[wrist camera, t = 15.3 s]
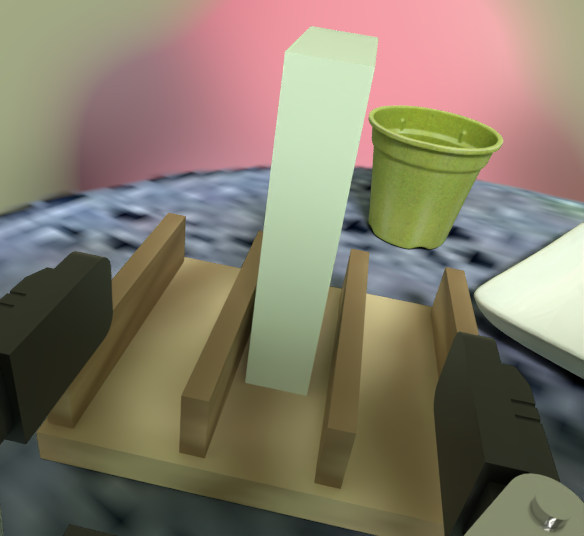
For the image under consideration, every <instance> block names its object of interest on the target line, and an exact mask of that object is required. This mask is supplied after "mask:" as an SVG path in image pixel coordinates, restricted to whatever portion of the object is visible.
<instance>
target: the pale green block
mask: <svg viewBox="0 0 584 536" xmlns="http://www.w3.org/2000/svg"><path fill="white" fill-rule="evenodd" d="M377 43H378V38H377V37H371V36H366V35H359V34H354V33H348V32H342V31H336V30H330V29H324V28H318V27H312V26H311V27H310V28H309V29H308V30H307V31H306V32H305V33H304V34H303V35H302V36H301V37H300V38H299V39H297V40H296V41H295V42H294V43H293V44H292V45H291V46H290V47H289V48H288V49H287V51H285V59H284V66H283V75H282V83H281V91H280V100H279V108H278V116H277V124H276V133H275V141H274V149H273V157H272V165H271V173H270V182H269V190H268V198H267V206H266V215H265V223H264V231H263V239H262V247H261V256H260V264H259V272H258V280H257V289H256V297H255V305H254V313H253V322H252V330H251V338H250V346H249V355H248V363H247V371H246V379H245V383H248V384H253V385H258V386H263V387H267V388H272V389H277V390H281V391H286V392H291V393H296V394H300V395H305V396H307V393H308V388H309V383H310V378H311V373H312V368H313V364H314V359H315V354H316V349H317V344H318V339H319V335H320V330H321V325H322V320H323V315H324V310H325V306H326V301H327V296H328V291H329V286H330V282H331V277H332V272H333V267H334V262H335V257H336V253H337V248H338V243H339V238H340V233H341V228H342V224H343V219H344V214H345V209H346V204H347V199H348V195H349V190H350V185H351V180H352V175H353V171H354V166H355V161H356V156H357V151H358V146H359V142H360V137H361V132H362V127H363V122H364V117H365V113H366V108H367V103H368V98H369V93H370V88H371V84H372V79H373V73H374V69H375V62H376V53H377Z"/></svg>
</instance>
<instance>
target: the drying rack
mask: <svg viewBox="0 0 584 536" xmlns="http://www.w3.org/2000/svg"><path fill="white" fill-rule="evenodd" d="M185 222H186V216H182V215H177V214H172V213H168V214H167V215H166V216H165V218H164V219H163V220H162V221H161V222H160V223H159V225H158V226H157V227H156V228H155V229H154V231H153V232H152V233H151V234H150V235H149V236H148V238H147V239H146V240H145V241H144V242H143V244H142V245H141V246H140V247H139V248H138V249H137V251H136V252H135V253H134V254H133V255H132V257H131V258H130V259H129V260H128V261H127V262H126V264H125V265H124V266H123V267H122V268H121V270H120V271H119V272H118V273H117V274H116V275H115V277H114V278H113V279H112V301H113V318H112V323H111V327H110V329H109V332H108V334H107V336H106V338H105V339H104V340H103V342H102V343H101V344H100V346H99V347H98V348H97V350H96V351H95V352H94V354H93V355H92V356H91V358H90V359H89V360H88V362H87V363H86V365H85V366H84V367H83V369H82V370H81V371H80V373H79V374H78V375H77V377H76V378H75V379H74V381H73V382H72V383H71V385H70V386H69V387H68V389H67V390H66V391H65V393H64V394H63V395H62V397H61V398H60V399H59V401H58V402H57V403H56V405H55V406H54V407H53V409H52V410H51V411H50V413H49V414H48V415H47V418H46V419H45V421H44V422H43V424H42V425H41V426H40V428H39V429H38V430H37V432H36V434H37V440H38V445H39V451H40V457H41V458H42V459H46V460H51V461H55V462H59V463H64V464H68V465H72V466H77V467H81V468H85V469H90V470H94V471H98V472H103V473H107V474H112V475H116V476H120V477H125V478H129V479H133V480H138V481H142V482H146V483H151V484H155V485H159V486H164V487H168V488H172V489H177V490H181V491H185V492H190V493H194V494H199V495H203V496H207V497H212V498H216V499H220V500H225V501H229V502H233V503H238V504H242V505H246V506H251V507H255V508H259V509H264V510H268V511H272V512H277V513H281V514H286V515H290V516H294V517H299V518H303V519H307V520H312V521H316V522H320V523H325V524H329V525H333V526H338V527H342V528H346V529H351V530H355V531H359V532H364V533H368V534H373V535H377V536H445V535H444V524H443V512H442V501H441V490H440V478H439V467H438V455H437V444H436V432H435V421H434V396H435V390H436V386H437V383H438V380H439V377H440V374H441V372H442V369H443V366H444V364H445V361H446V359H447V356H448V353H449V351H450V348H451V345H452V343H453V340H454V338H455V336H456V334H457V333H458V332H459V331H460V332H465V333H470V334H474V335H479V333H478V329H477V325H476V320H475V316H474V312H473V307H472V303H471V299H470V294H469V290H468V286H467V281H466V277H465V273H464V271H462V270H457V269H452V268H447V267H446V268H445V271H444V274H443V277H442V280H441V283H440V286H439V289H438V292H437V295H436V297H435V300H434V303H433V306H432V307H430V306H425V305H420V304H415V303H410V302H405V301H400V300H395V299H390V298H385V297H380V296H375V295H370V294H366V291H367V277H368V262H369V252H365V251H360V250H355V249H351V252H350V256H349V261H348V265H347V270H346V274H345V279H344V283H343V288H342V289H340V288H335V287H331V286H329V291H328V296H327V301H326V306H325V310H324V315H323V320H322V325H321V330H320V335H319V339H318V344H317V349H316V354H315V359H314V364H313V368H312V373H311V378H310V383H309V388H308V393H307V396H305V395H300V394H296V393H291V392H286V391H281V390H277V389H272V388H267V387H263V386H258V385H253V384H248V383H245V379H246V371H247V363H248V355H249V346H250V338H251V330H252V322H253V313H254V305H255V297H256V289H257V280H258V272H259V264H260V256H261V247H262V239H263V231H258V233H257V236H256V238H255V240H254V242H253V244H252V246H251V248H250V250H249V253H248V255H247V257H246V259H245V261H244V263H243V265H242V267H241V268H236V267H231V266H226V265H221V264H216V263H211V262H206V261H201V260H196V259H191V258H186V257H184V251H185Z"/></svg>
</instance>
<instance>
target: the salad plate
mask: <svg viewBox="0 0 584 536" xmlns="http://www.w3.org/2000/svg"><path fill="white" fill-rule="evenodd" d="M474 298H475V301H476V304H477V306H478V307H479V309H480V311H481V312H482V314H483V315H484V316H485V317H486V318H487V319H488V320H489V321H490V322H491V323H492V324H493V325H494V326H495V327H497V328H498V329H499V330H501V331H502V332H503V333H505V334H506V335H508V336H509V337H511V338H512V339H514V340H516V341H517V342H519V343H520V344H522V345H524V346H525V347H527V348H529V349H530V350H532V351H534V352H536V353H537V354H539V355H541V356H543V357H545V358H546V359H548V360H550V361H552V362H554V363H555V364H557V365H559V366H561V367H563V368H564V369H566V370H568V371H570V372H572V373H573V374H575V375H577V376H579V377H581V378H583V379H584V222H583V223H581V224H580V225H578V226H577V227H575V228H573V229H572V230H570V231H569V232H567V233H566V234H564V235H563V236H561V237H560V238H558V239H557V240H555V241H554V242H552V243H551V244H549V245H548V246H546V247H545V248H543V249H541V250H540V251H538V252H537V253H535V254H533V255H532V256H530V257H528V258H527V259H525V260H524V261H522V262H520V263H518V264H516V265H515V266H513V267H511V268H510V269H508V270H506V271H504V272H503V273H501V274H499V275H498V276H496V277H494V278H493V279H491V280H489V281H488V282H486V283H484V284H483V285H481V286H480V287H479V288H478V289H477V290H476V291H475V293H474Z"/></svg>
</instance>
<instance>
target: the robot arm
mask: <svg viewBox="0 0 584 536" xmlns="http://www.w3.org/2000/svg"><path fill="white" fill-rule="evenodd" d="M112 318H113V301H112V280H111V265H110V261H109V260H108V258H105V257H101V256H96V255H91V254H86V253H81V252H76V251H75V252H72V253H71V254H69V255H68V256H67V257H66V258H65V259H64V260H63V261H62V262H61V263H60V264H59V265H58V266H57V267H55V268H54V269H52V268H45V269H43V270H41V271H38V272H36V273H34V274H32V275H30V276H27V277H25V278H24V279H23V280H22V281H21V282H20V283H19V284H17V285H16V286H15V287H14V288H13V289H12V290H11V291H10V294H6V295H5V296H4V297H3V298H2V299H0V444H1V443H2V442H3V441H4V439H6V440H10V441H15V442H19V443H23V444H27V442H28V441H29V440H30V438H31V437H32V436H33V434H34V433H35V431H36V430H37V429H38V427H39V426H40V425H41V423H42V422H43V421H44V419H45V418H46V417H47V415H48V414H49V413H50V411H51V410H52V409H53V407H54V406H55V405H56V403H57V402H58V401H59V399H60V398H61V397H62V395H63V394H64V393H65V391H66V390H67V389H68V387H69V386H70V385H71V383H72V382H73V381H74V379H75V378H76V377H77V375H78V374H79V373H80V371H81V370H82V369H83V367H84V366H85V365H86V363H87V362H88V360H89V359H90V358H91V356H92V355H93V354H94V352H95V351H96V350H97V348H98V347H99V346H100V344H101V343H102V342H103V340H104V339H105V338H106V336H107V334H108V332H109V329H110V327H111V323H112ZM535 405H536V404H535V400H534V397H533V394H532V391H531V388H530V385H529V384H528V382H527V381H526V380H525V379H524V377H523V376H522V375H521V374H520V372H519V371H518V370H517V369H516V367H515V366H511V365H506V364H502V363H501V361H500V357H499V353H498V349H497V345H496V342H495V340H494V339H493V338H489V337H484V336H479V335H474V334H470V333H465V332H460V331H459V332H458V333H457V334H456V336H455V338H454V340H453V343H452V345H451V348H450V351H449V353H448V356H447V359H446V361H445V364H444V366H443V369H442V372H441V374H440V377H439V380H438V383H437V386H436V390H435V396H434V421H435V432H436V444H437V455H438V467H439V478H440V490H441V501H442V512H443V524H444V535H445V536H584V503H583V502H582V501H581V499H580V498H579V497H578V496H577V495H576V494H575V493H574V492H572V491H571V490H570V489H569V488H567V487H566V486H564V485H563V484H561V483H560V480H559V477H558V474H557V470H556V467H555V464H554V461H553V458H552V454H551V451H550V448H549V445H548V442H547V439H546V435H545V432H544V429H543V426H542V424H540V420H541V419H540V416H539V413H538V410H537V408H535ZM0 536H3V525H2V514H1V503H0ZM63 536H116V535H112V534H108V533H104V532H100V531H96V530H91V529H87V528H83V527H79V526H75V525H71V524H70V525H69V526H68V528H67V530H66V532H65V533H64V535H63Z"/></svg>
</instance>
